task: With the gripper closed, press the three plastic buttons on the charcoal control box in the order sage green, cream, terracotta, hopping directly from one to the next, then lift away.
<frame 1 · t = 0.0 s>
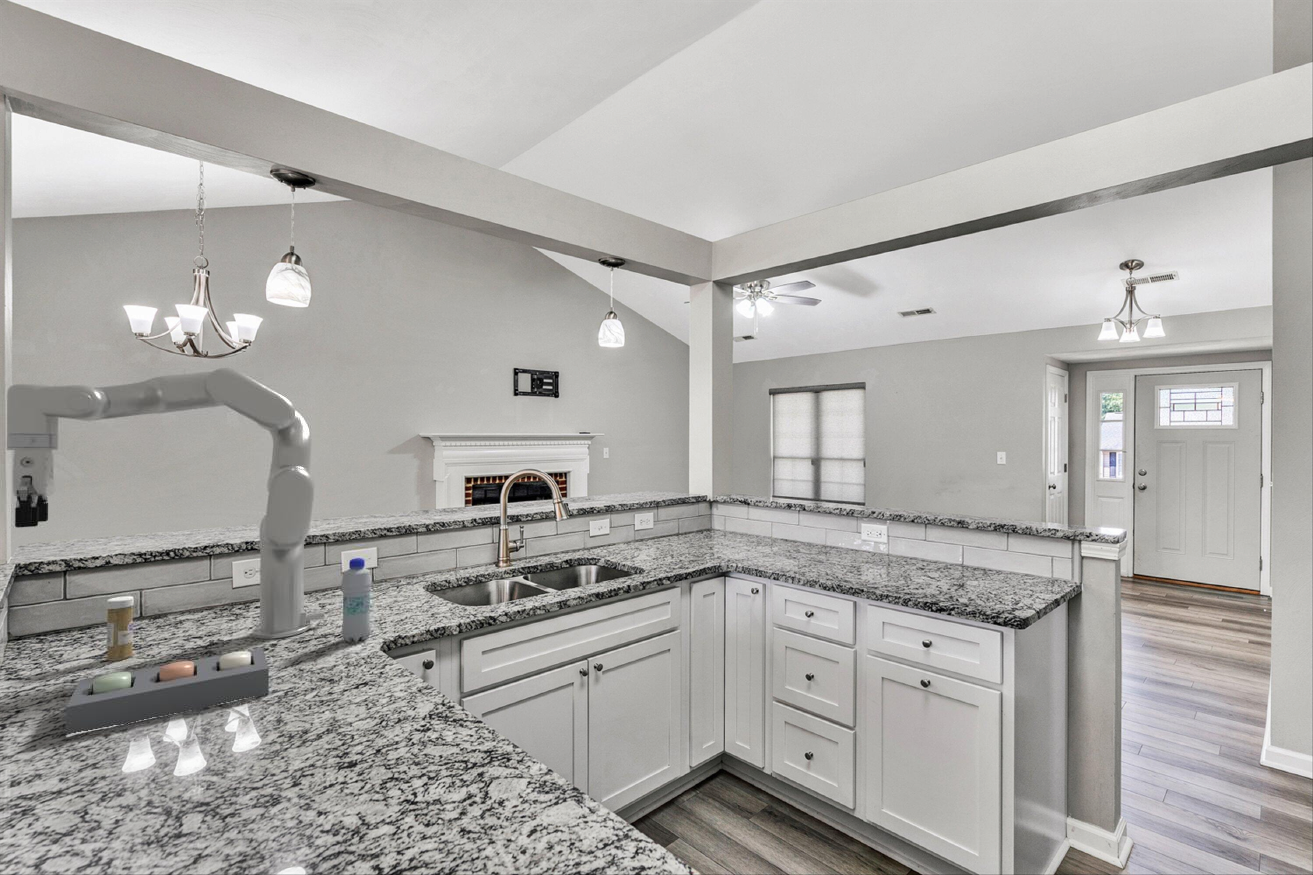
hand: (32, 524, 126), 31 cm above the countertop, tool pointing down, fingers open, 9 cm apart
bottle: (356, 640, 147), on the countertop
sage button: (112, 687, 106), point 5 cm above the countertop, slide at 0.0 cm
cream button: (235, 664, 117), point 5 cm above the countertop, slide at 0.0 cm
button box: (176, 700, 112), on the countertop
terracotta button: (176, 675, 112), point 5 cm above the countertop, slide at 0.0 cm
sprinkles bottle: (119, 658, 134), on the countertop
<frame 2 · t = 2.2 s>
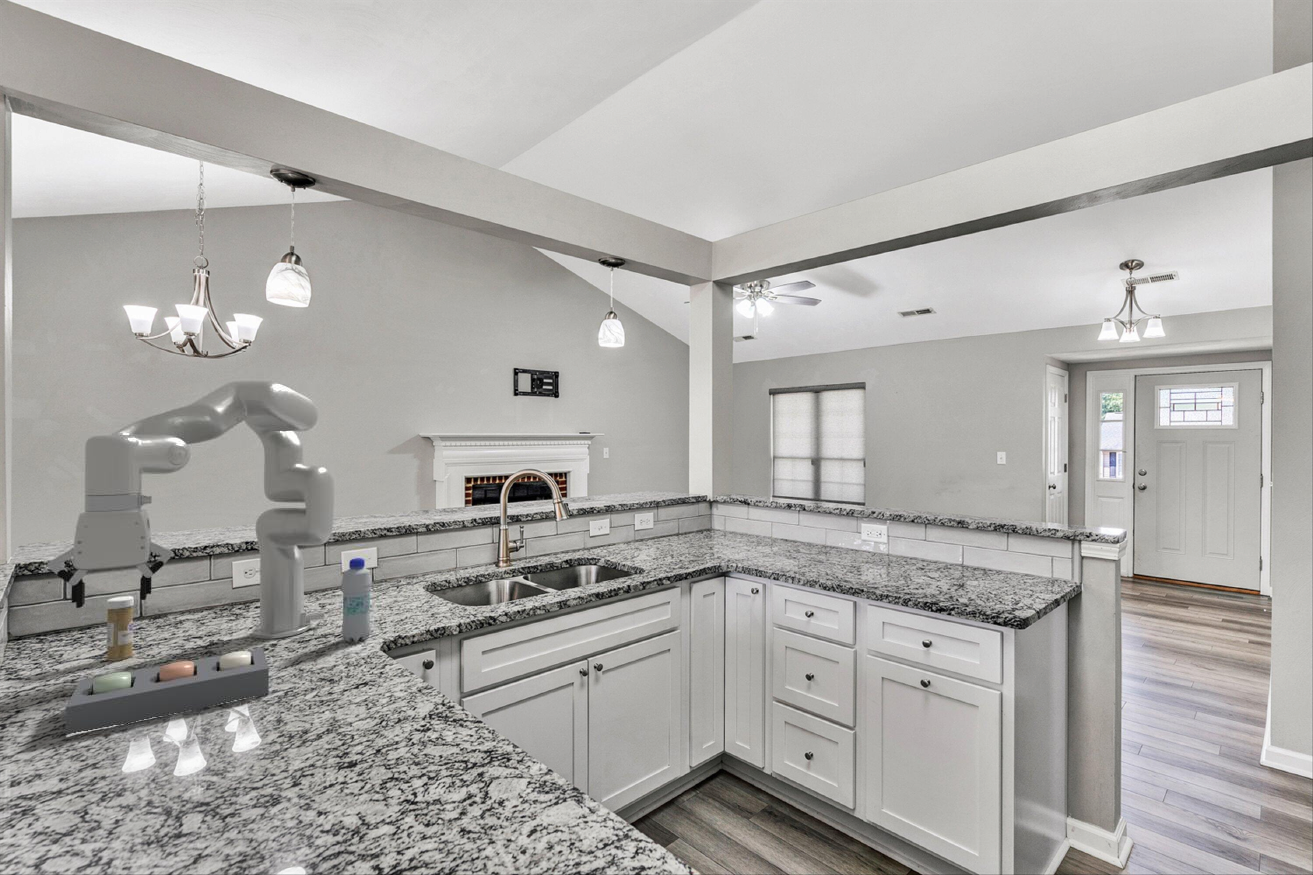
hand: (112, 601, 107), 20 cm above the countertop, tool pointing down, fingers open, 7 cm apart
nothing on the countertop moved.
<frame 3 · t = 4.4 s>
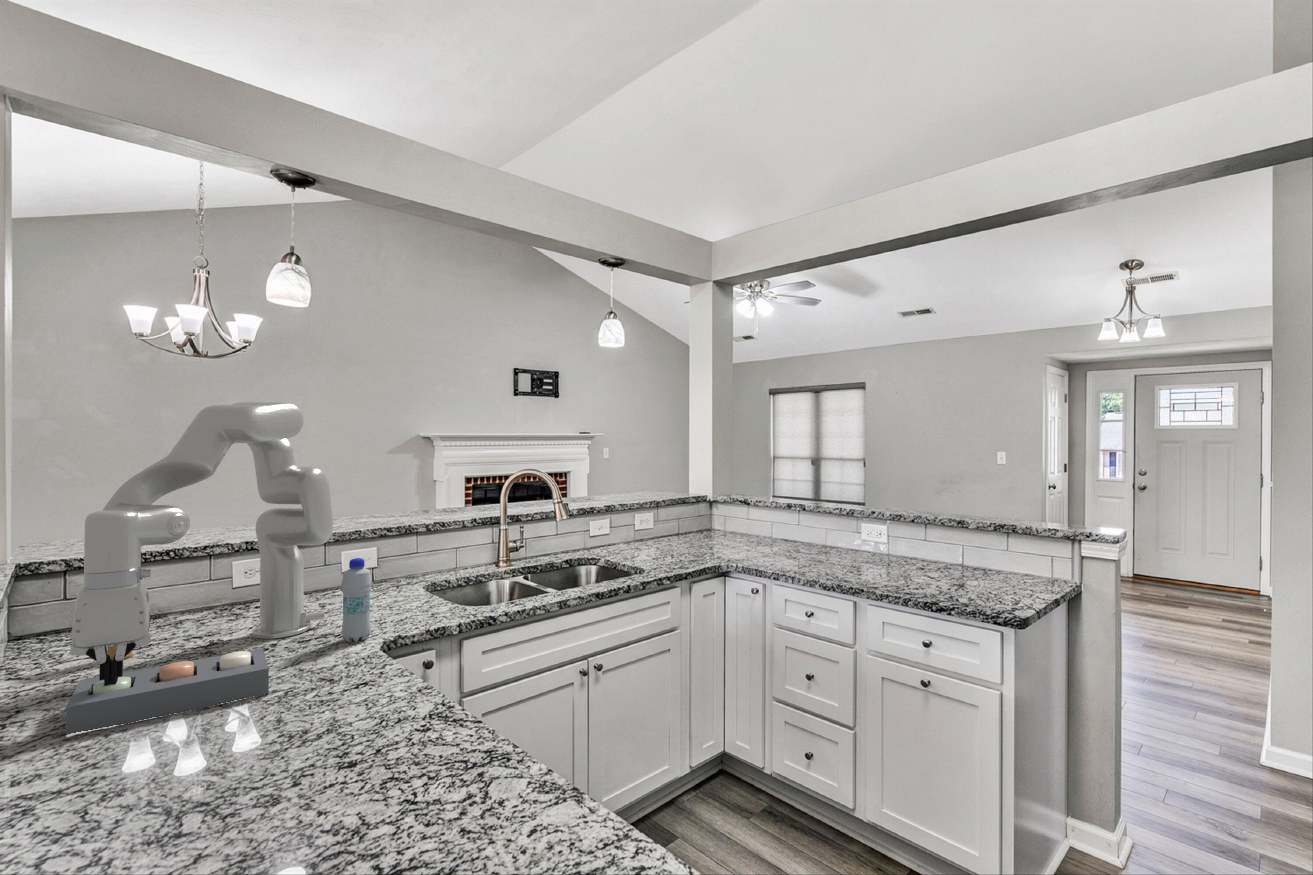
hand: (111, 682, 106), 6 cm above the countertop, tool pointing down, fingers closed
sage button: (112, 691, 106), point 4 cm above the countertop, slide at 0.9 cm, touching gripper
everything else where it was.
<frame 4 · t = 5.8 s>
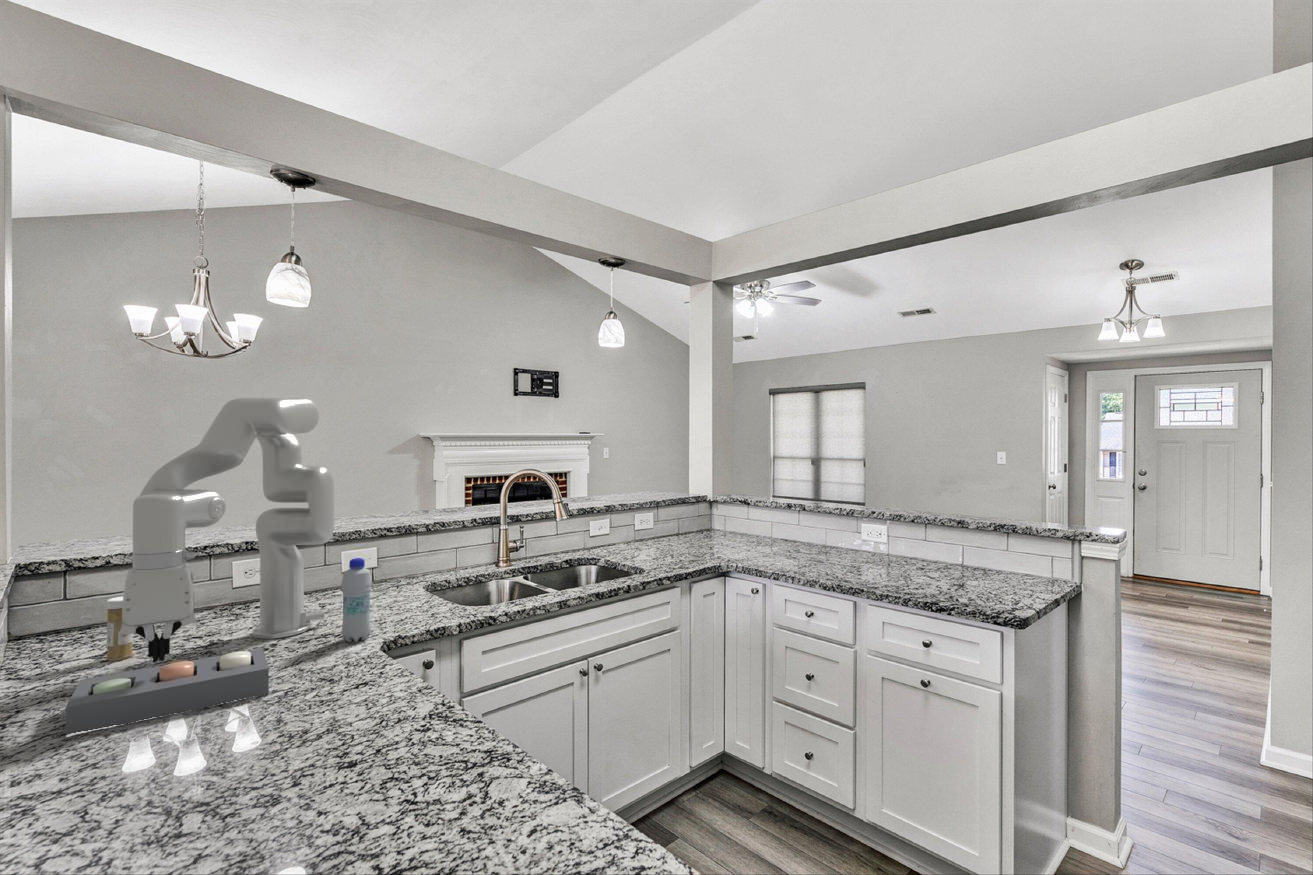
hand: (159, 659, 110), 8 cm above the countertop, tool pointing down, fingers closed
sage button: (112, 693, 106), point 4 cm above the countertop, slide at 1.2 cm
everything else where it was.
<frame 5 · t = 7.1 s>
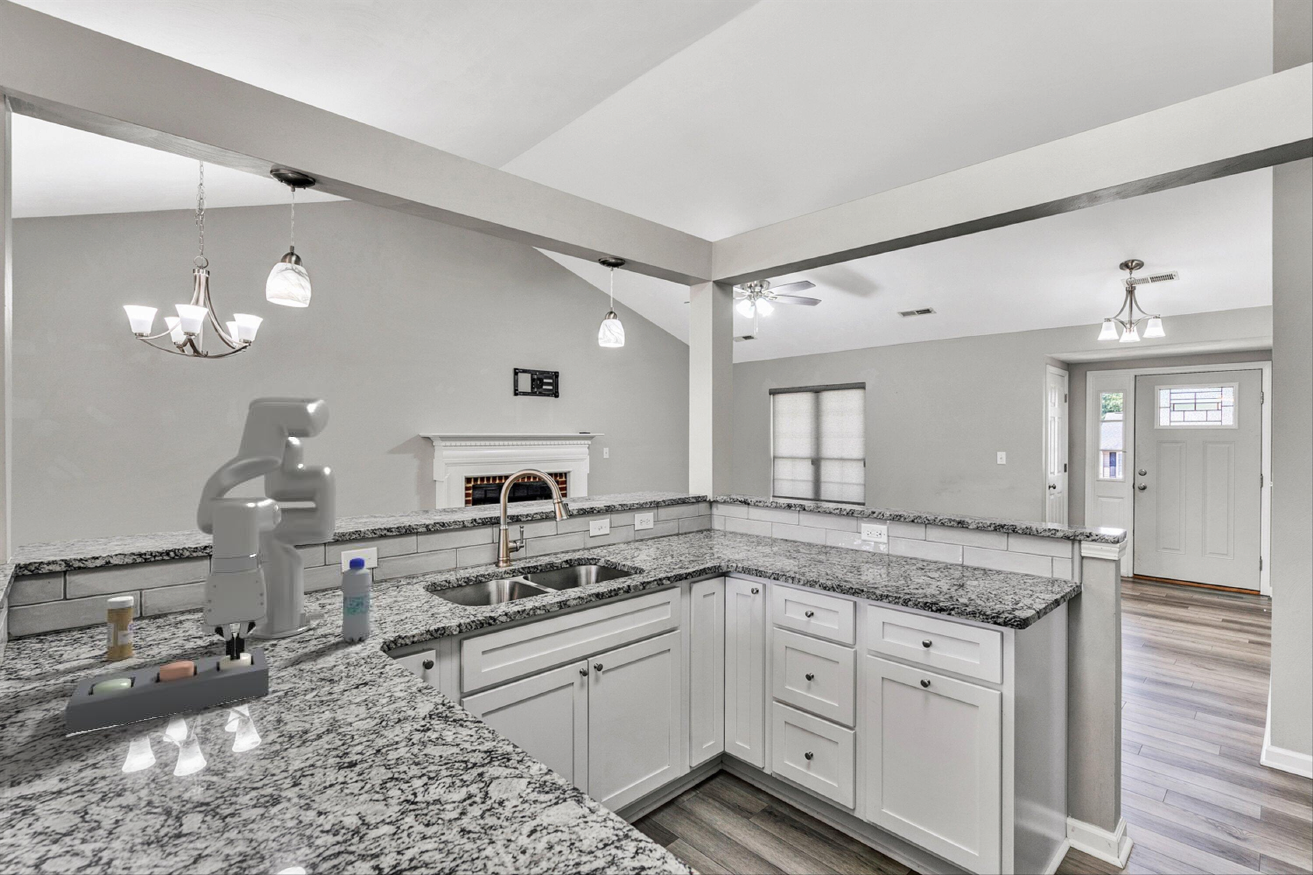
hand: (235, 657, 117), 6 cm above the countertop, tool pointing down, fingers closed
cream button: (235, 666, 117), point 4 cm above the countertop, slide at 0.4 cm, touching gripper
everything else where it was.
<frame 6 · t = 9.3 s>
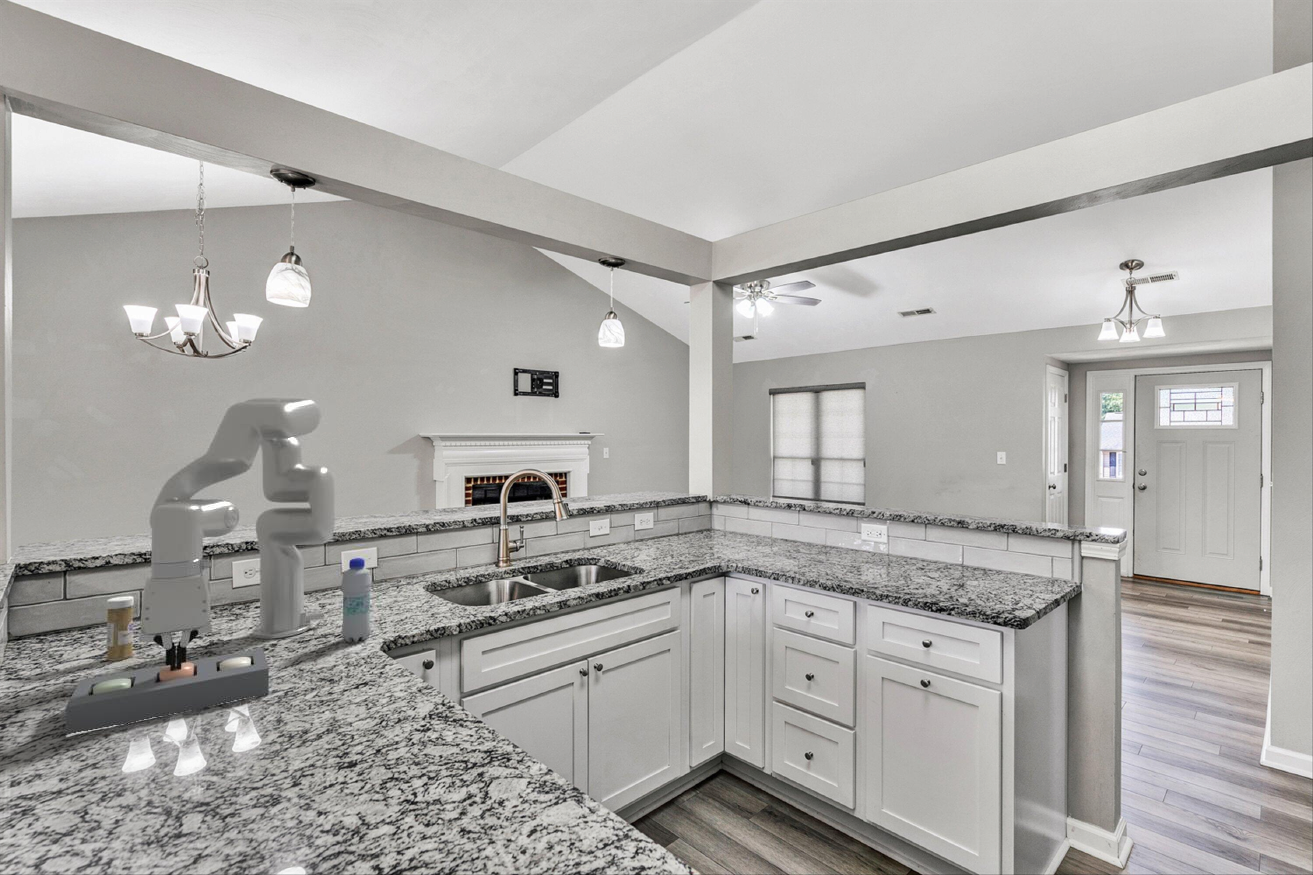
hand: (176, 667, 112), 6 cm above the countertop, tool pointing down, fingers closed
cream button: (235, 670, 117), point 4 cm above the countertop, slide at 1.2 cm
terracotta button: (176, 676, 112), point 4 cm above the countertop, slide at 0.3 cm, touching gripper
everything else where it was.
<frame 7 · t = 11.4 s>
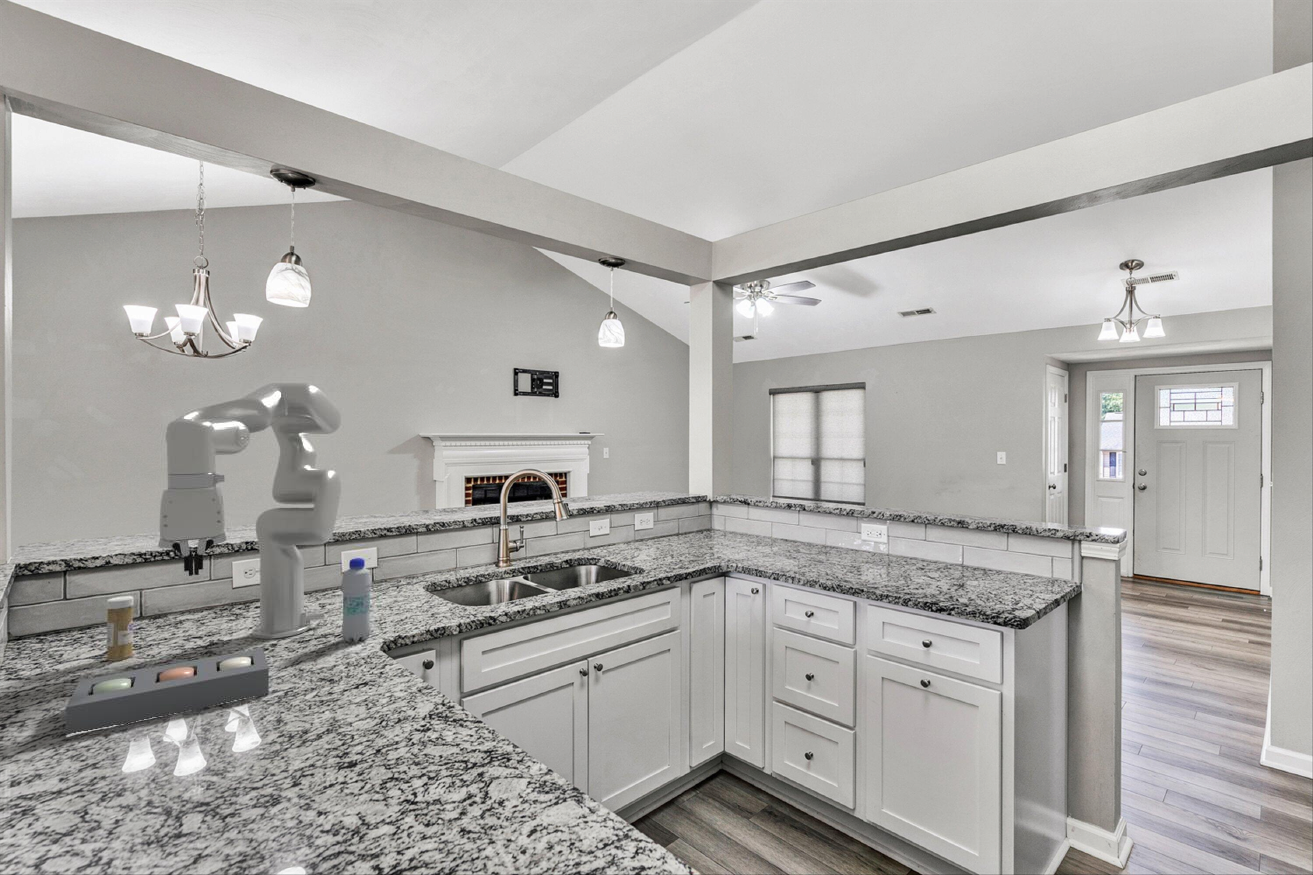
hand: (193, 573, 119), 22 cm above the countertop, tool pointing down, fingers closed
terracotta button: (176, 681, 112), point 4 cm above the countertop, slide at 1.2 cm
everything else where it was.
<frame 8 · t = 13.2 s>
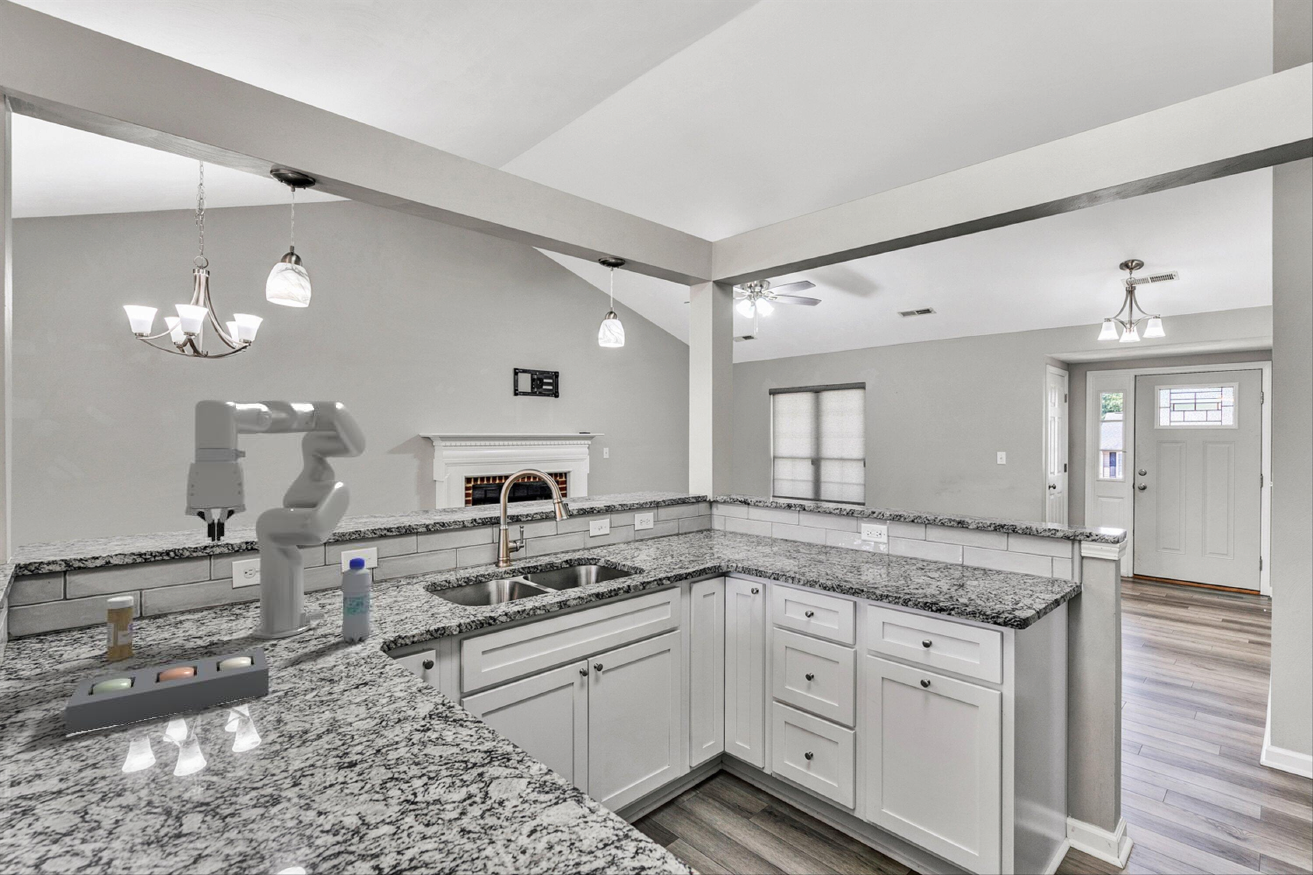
hand: (215, 540, 130), 27 cm above the countertop, tool pointing down, fingers closed
nothing on the countertop moved.
at the end: sage button slide at 1.2 cm; cream button slide at 1.2 cm; terracotta button slide at 1.2 cm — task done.
